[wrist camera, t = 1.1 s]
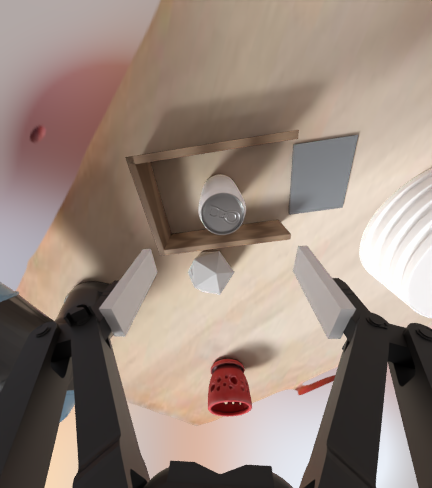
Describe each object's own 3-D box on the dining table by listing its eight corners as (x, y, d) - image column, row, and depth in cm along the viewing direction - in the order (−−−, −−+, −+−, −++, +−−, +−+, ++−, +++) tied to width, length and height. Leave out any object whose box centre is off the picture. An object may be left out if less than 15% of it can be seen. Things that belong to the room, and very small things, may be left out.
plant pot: (201, 363, 62) (198, 408, 51) (233, 350, 58) (237, 396, 48) (222, 378, 67) (223, 422, 56) (252, 367, 63) (260, 411, 53)
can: (230, 213, 35) (237, 243, 24) (198, 203, 34) (191, 230, 23) (242, 180, 32) (256, 198, 21) (207, 168, 31) (205, 181, 20)
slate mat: (288, 213, 35) (289, 214, 35) (293, 144, 29) (294, 144, 29) (340, 206, 35) (342, 207, 34) (356, 134, 29) (358, 134, 28)
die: (216, 234, 38) (182, 259, 31) (247, 263, 36) (219, 295, 30) (203, 256, 44) (174, 280, 38) (230, 281, 43) (204, 311, 36)
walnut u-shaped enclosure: (168, 238, 37) (159, 255, 32) (142, 154, 30) (125, 157, 24) (278, 224, 36) (290, 239, 30) (281, 132, 28) (298, 129, 23)
